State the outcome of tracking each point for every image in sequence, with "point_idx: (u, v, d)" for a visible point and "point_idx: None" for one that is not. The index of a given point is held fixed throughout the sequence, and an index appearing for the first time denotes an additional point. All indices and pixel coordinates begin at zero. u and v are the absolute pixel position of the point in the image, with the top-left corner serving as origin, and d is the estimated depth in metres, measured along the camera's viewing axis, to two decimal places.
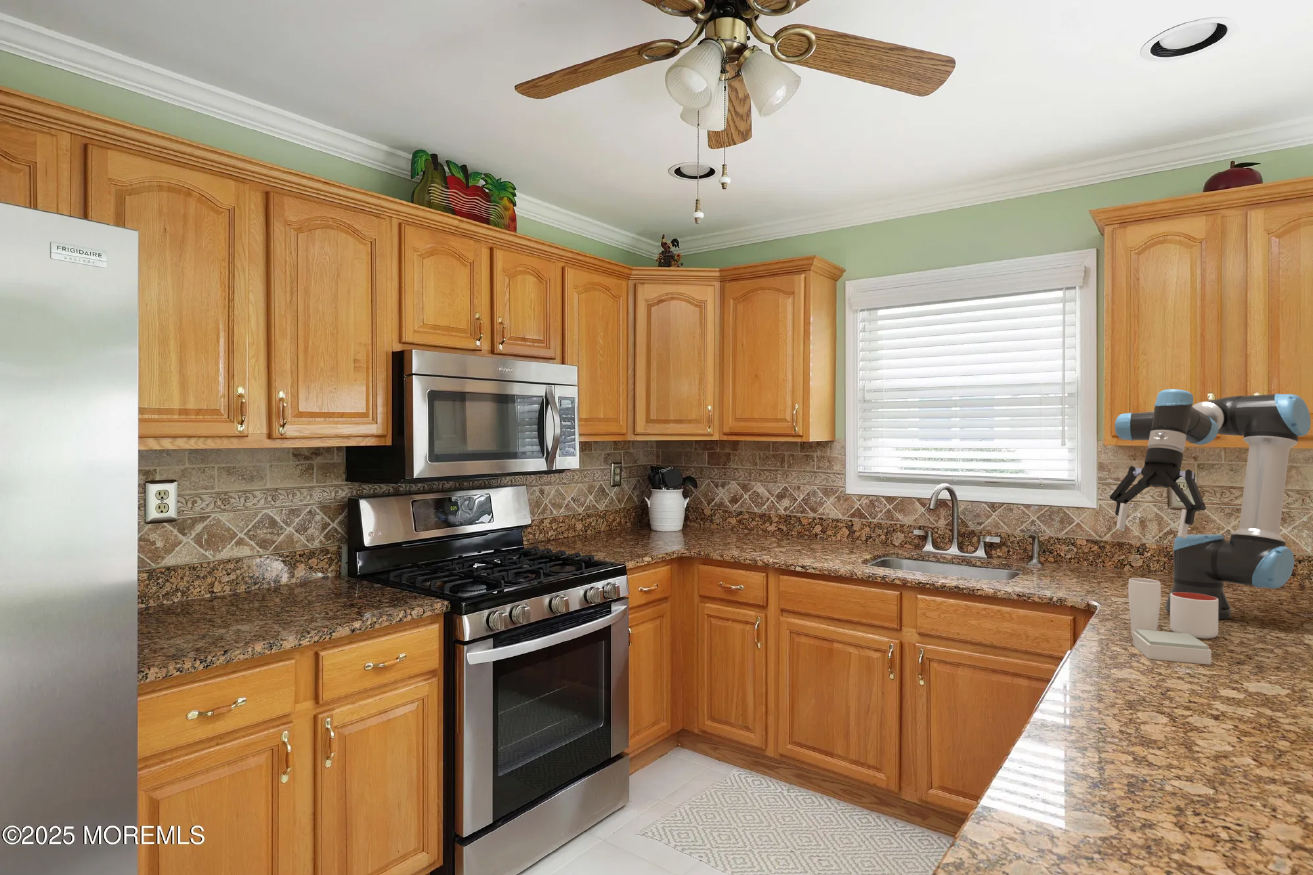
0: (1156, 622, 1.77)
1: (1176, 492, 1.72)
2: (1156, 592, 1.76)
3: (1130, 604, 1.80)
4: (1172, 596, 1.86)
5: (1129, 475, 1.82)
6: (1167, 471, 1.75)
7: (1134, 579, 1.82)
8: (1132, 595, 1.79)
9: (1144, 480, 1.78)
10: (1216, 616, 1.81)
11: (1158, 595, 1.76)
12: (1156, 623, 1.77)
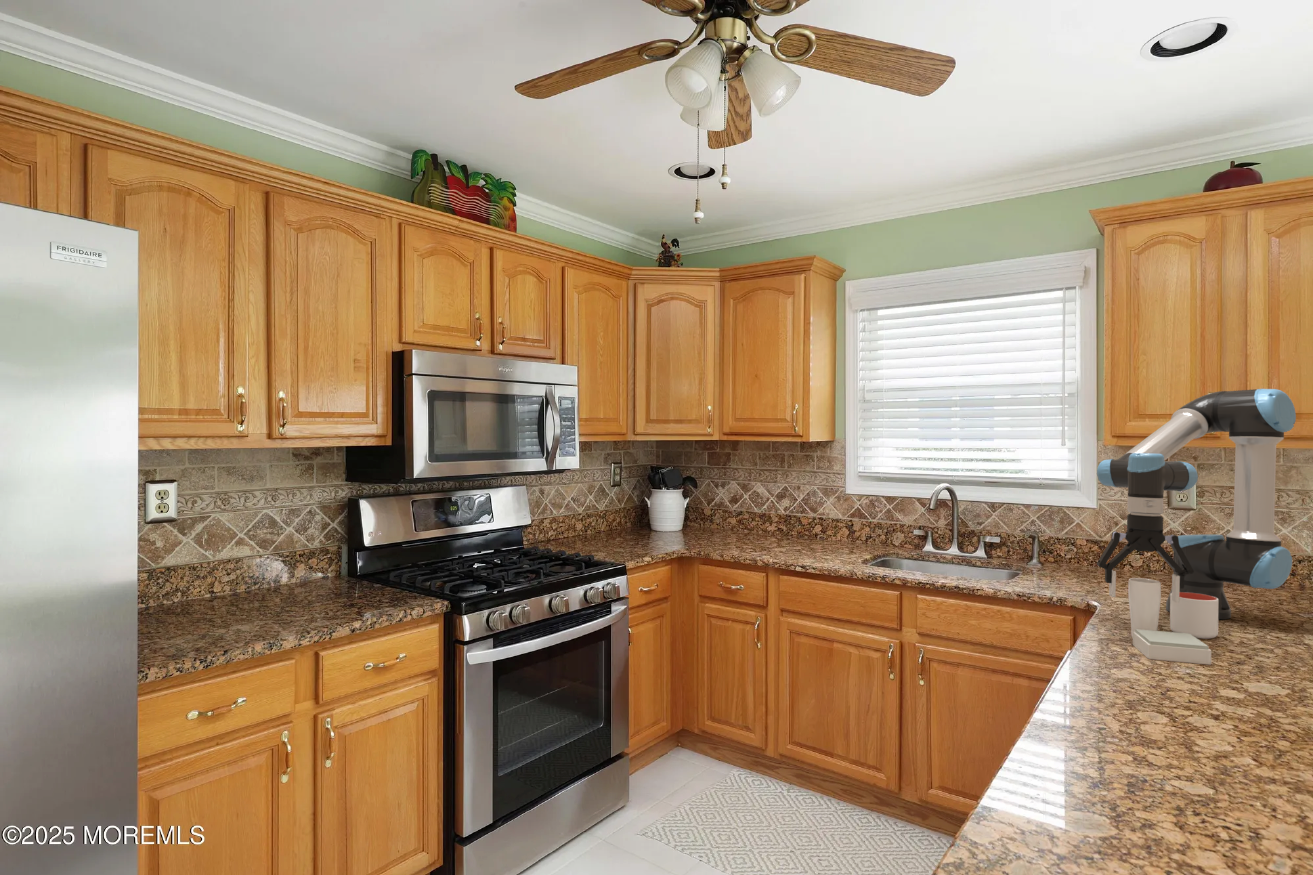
0: (1156, 622, 1.77)
1: (1167, 559, 1.77)
2: (1156, 592, 1.76)
3: (1130, 604, 1.80)
4: None
5: (1116, 542, 1.80)
6: (1154, 537, 1.78)
7: (1134, 579, 1.82)
8: (1132, 595, 1.79)
9: (1134, 548, 1.79)
10: (1216, 616, 1.81)
11: (1158, 595, 1.76)
12: (1156, 623, 1.77)
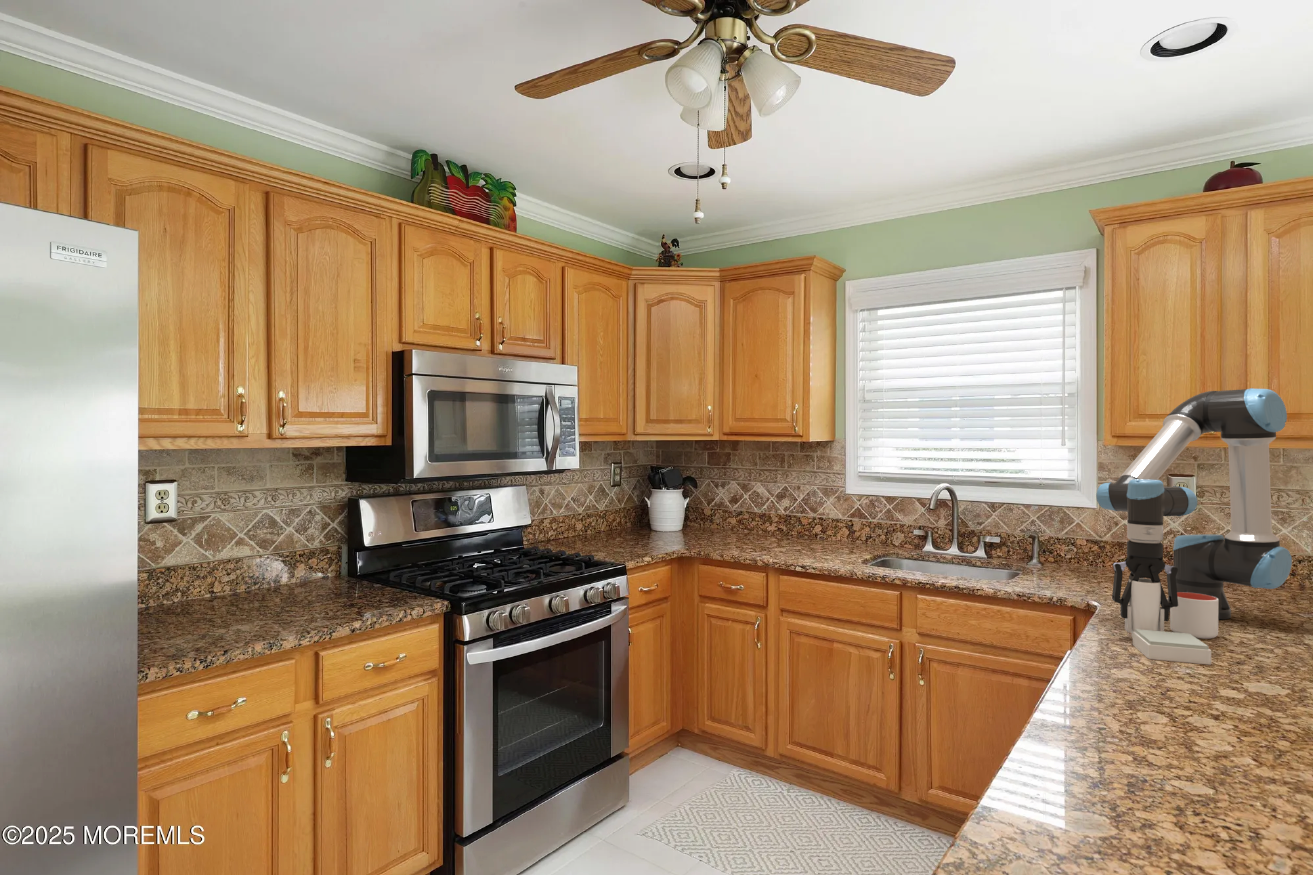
0: (1156, 622, 1.77)
1: None
2: (1156, 592, 1.76)
3: (1130, 604, 1.80)
4: None
5: (1119, 573, 1.80)
6: (1155, 562, 1.78)
7: None
8: (1132, 595, 1.79)
9: (1138, 576, 1.78)
10: (1216, 616, 1.81)
11: (1158, 595, 1.76)
12: (1156, 623, 1.77)
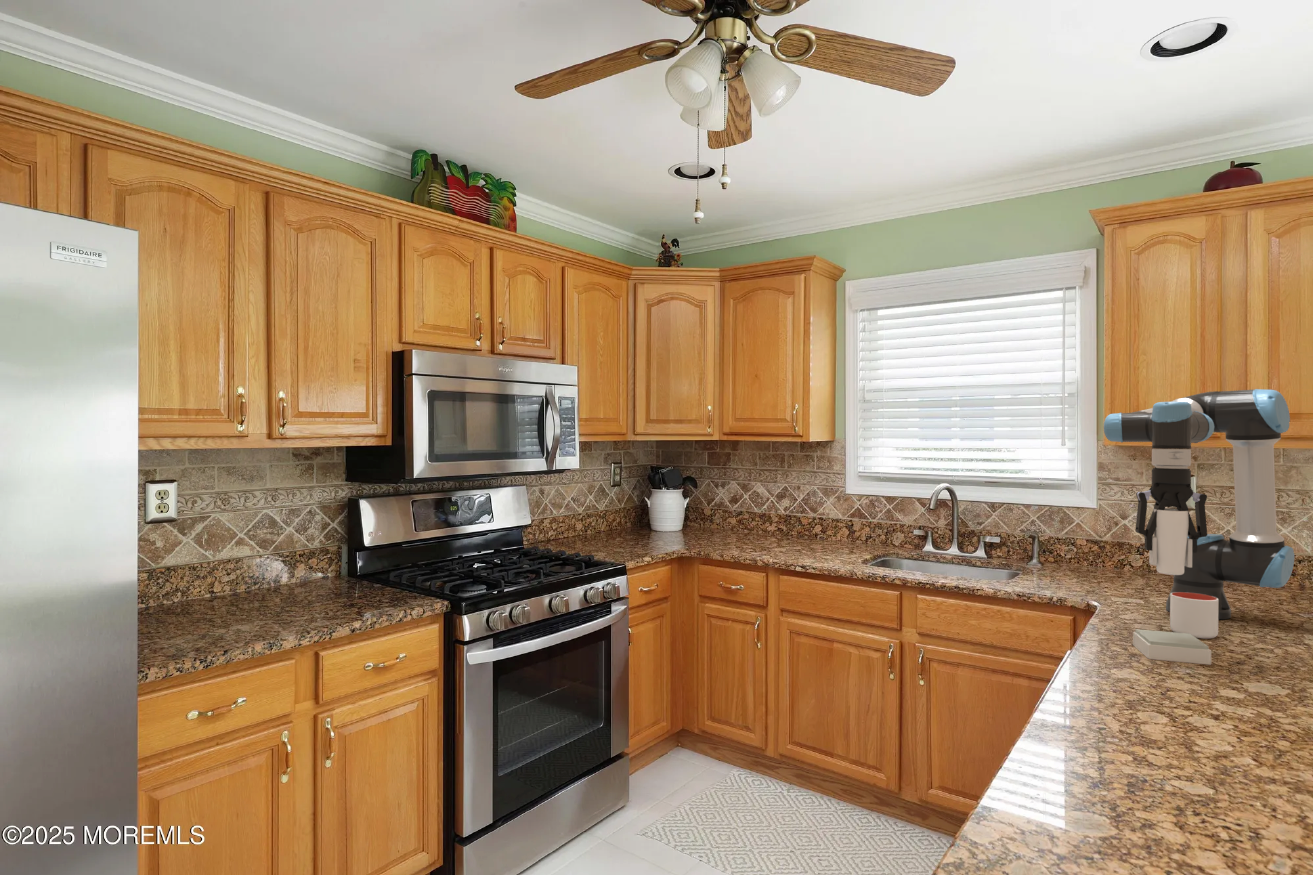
0: (1183, 553, 1.65)
1: None
2: (1184, 521, 1.64)
3: (1155, 535, 1.68)
4: (1172, 596, 1.86)
5: (1144, 502, 1.68)
6: (1182, 489, 1.66)
7: None
8: (1157, 525, 1.67)
9: (1164, 505, 1.67)
10: (1216, 616, 1.81)
11: (1186, 524, 1.65)
12: (1183, 554, 1.65)
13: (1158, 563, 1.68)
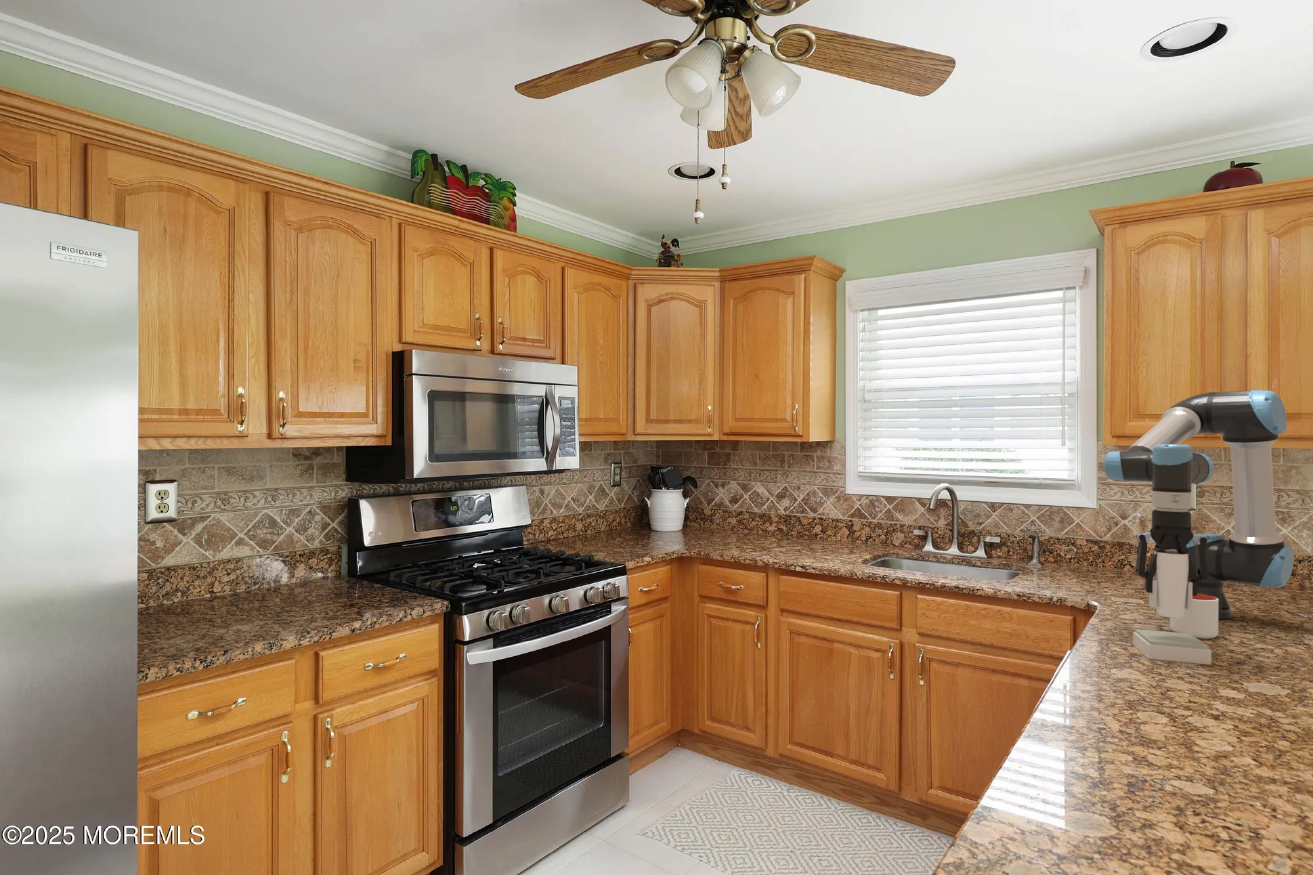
0: (1184, 596, 1.65)
1: None
2: (1184, 564, 1.64)
3: (1155, 577, 1.68)
4: None
5: (1144, 545, 1.68)
6: (1182, 532, 1.66)
7: None
8: (1158, 568, 1.67)
9: (1164, 547, 1.66)
10: (1216, 616, 1.81)
11: (1186, 567, 1.64)
12: (1184, 597, 1.65)
13: (1158, 606, 1.68)
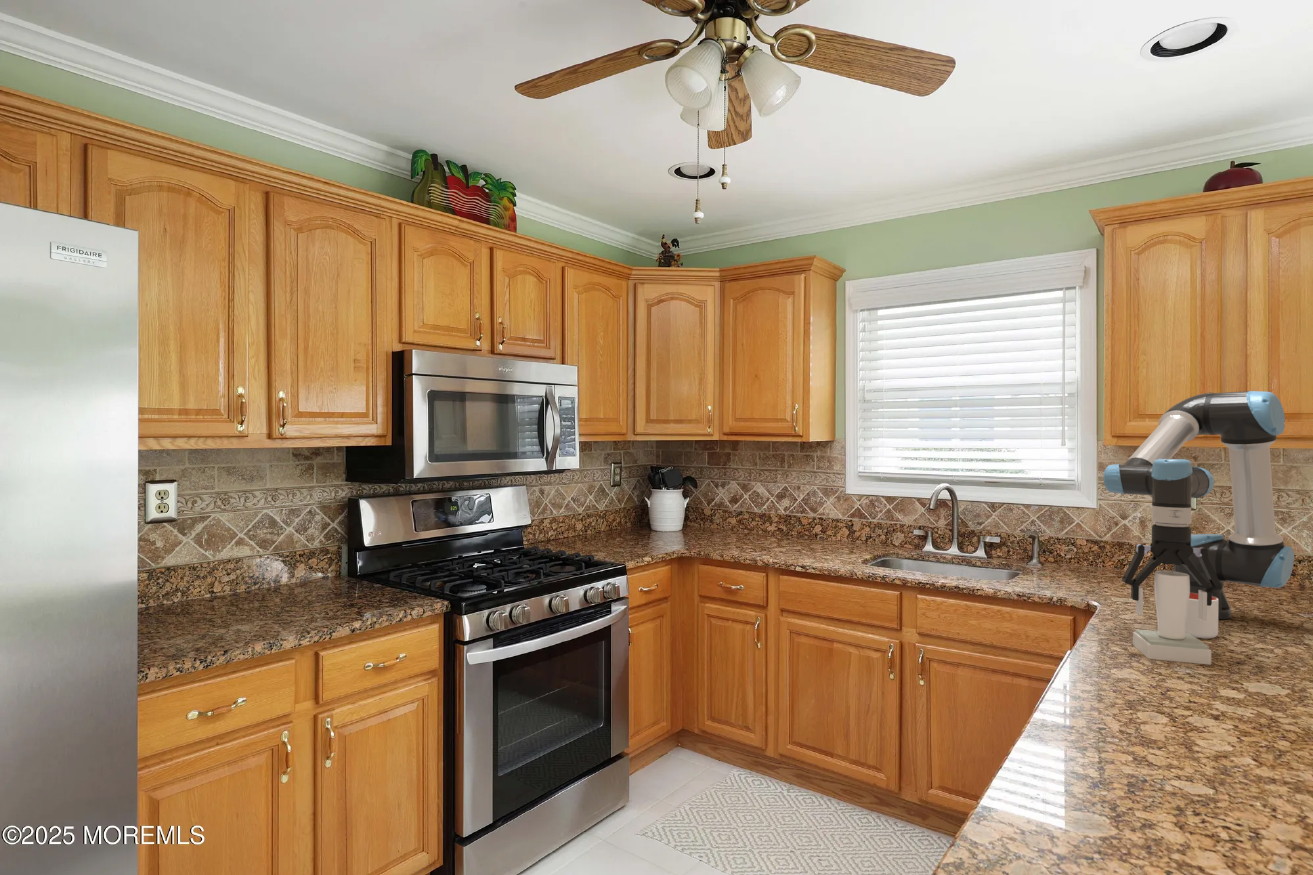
0: (1185, 618, 1.65)
1: (1194, 573, 1.65)
2: (1185, 586, 1.64)
3: (1157, 599, 1.68)
4: None
5: (1140, 555, 1.68)
6: (1182, 549, 1.66)
7: (1160, 572, 1.70)
8: (1159, 589, 1.67)
9: (1161, 561, 1.67)
10: (1216, 616, 1.81)
11: (1187, 589, 1.64)
12: (1185, 619, 1.65)
13: (1160, 627, 1.67)
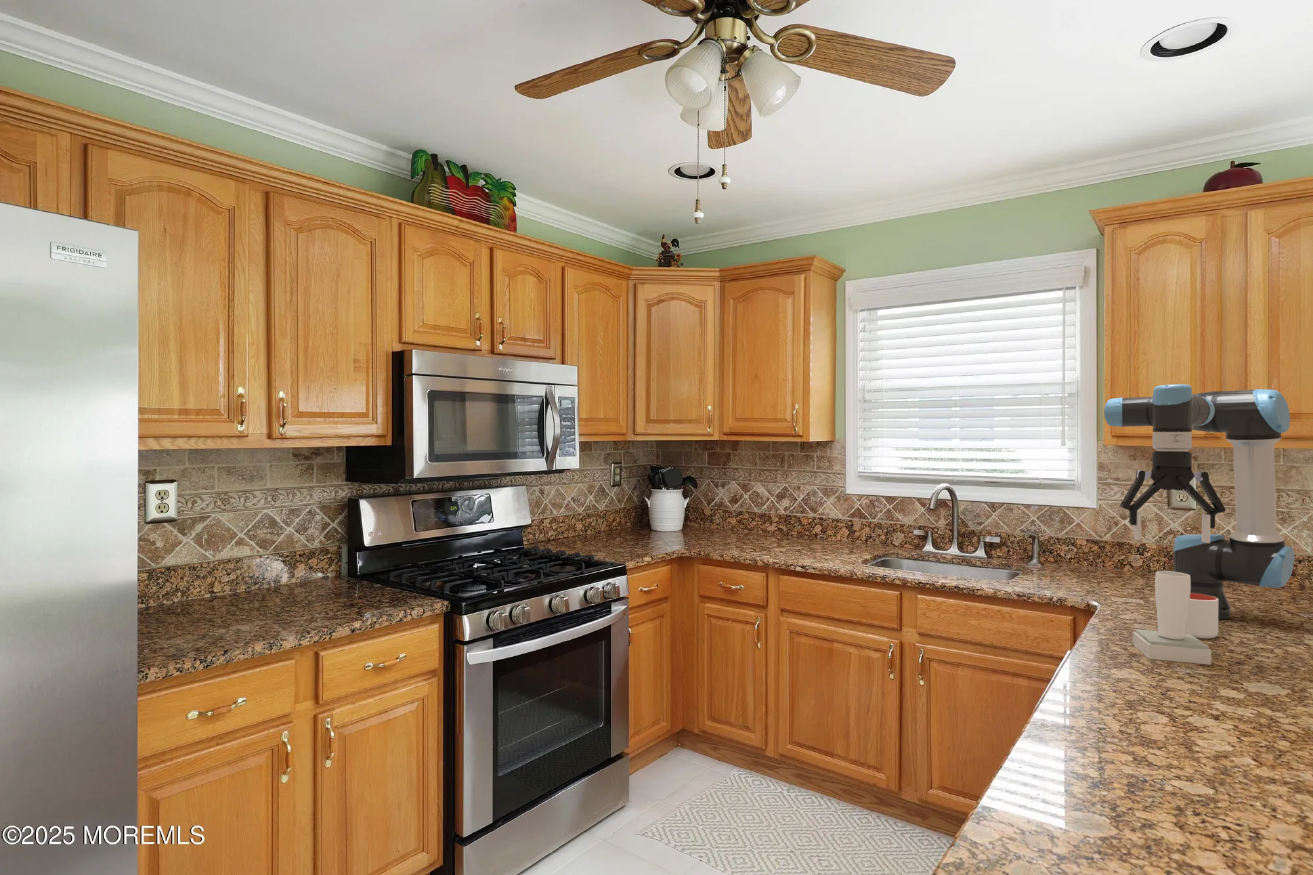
0: (1185, 618, 1.65)
1: (1196, 497, 1.65)
2: (1186, 586, 1.64)
3: (1157, 599, 1.68)
4: None
5: (1140, 481, 1.69)
6: (1182, 474, 1.66)
7: (1161, 572, 1.70)
8: (1160, 589, 1.67)
9: (1161, 486, 1.67)
10: (1216, 616, 1.81)
11: (1188, 589, 1.64)
12: (1185, 619, 1.65)
13: (1160, 627, 1.67)
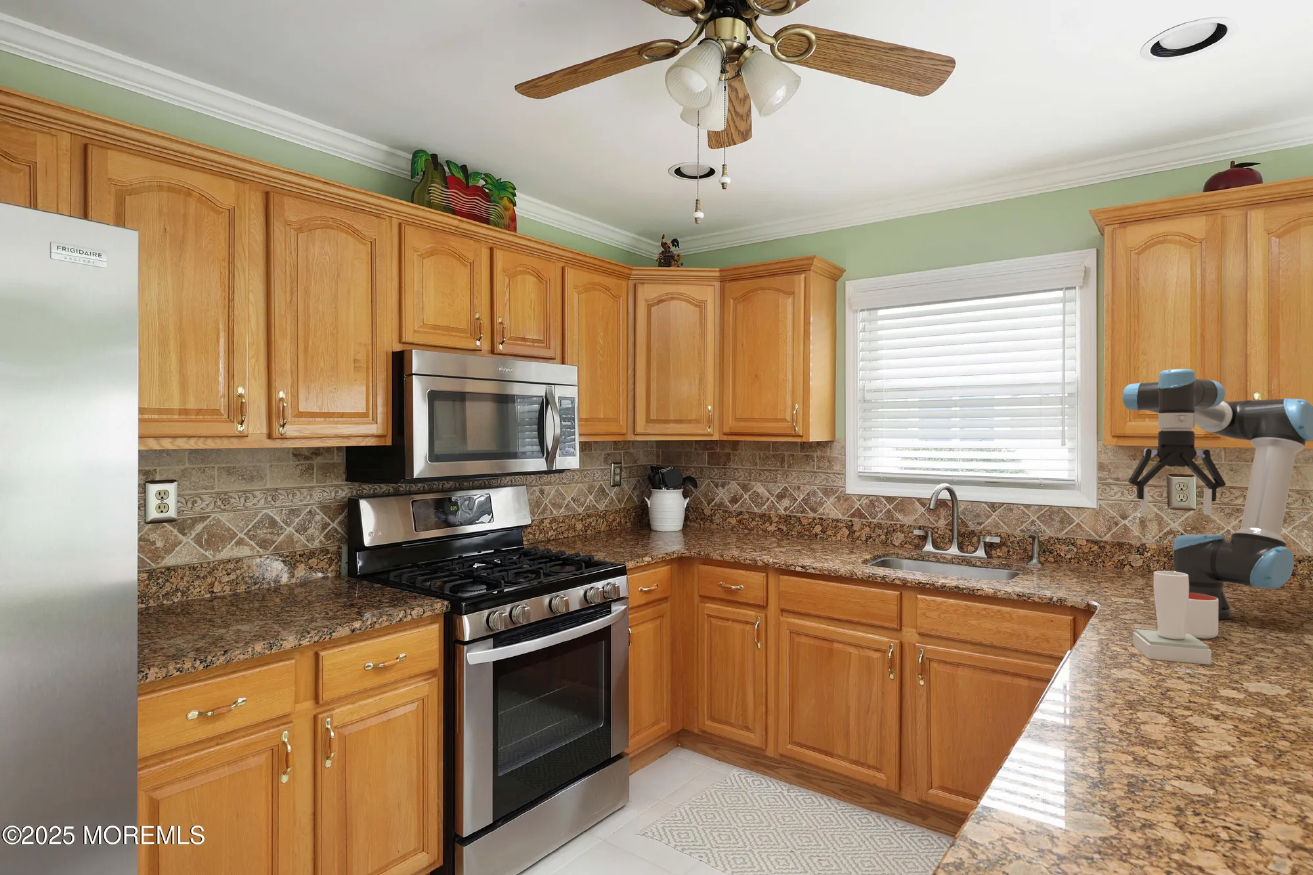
0: (1185, 617, 1.65)
1: (1199, 473, 1.79)
2: (1184, 585, 1.64)
3: (1156, 599, 1.68)
4: None
5: (1147, 458, 1.83)
6: (1186, 452, 1.80)
7: (1159, 572, 1.71)
8: (1158, 589, 1.67)
9: (1166, 463, 1.81)
10: (1216, 616, 1.81)
11: (1187, 588, 1.65)
12: (1185, 619, 1.65)
13: (1160, 627, 1.67)
